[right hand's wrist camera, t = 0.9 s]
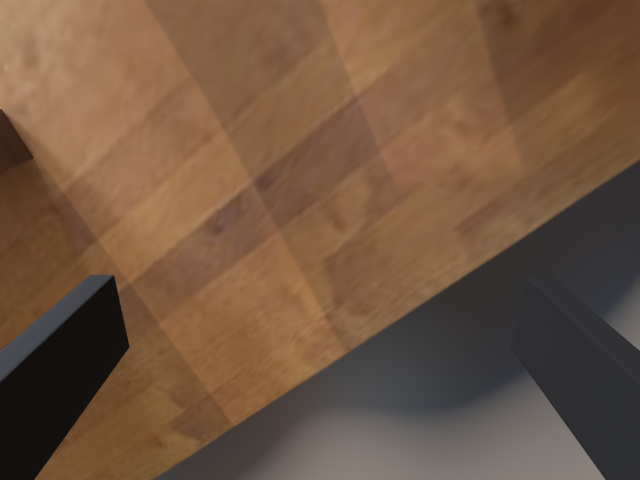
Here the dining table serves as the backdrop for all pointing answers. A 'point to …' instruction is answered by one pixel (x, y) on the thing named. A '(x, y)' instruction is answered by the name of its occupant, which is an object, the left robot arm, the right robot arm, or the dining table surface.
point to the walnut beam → (11, 146)
